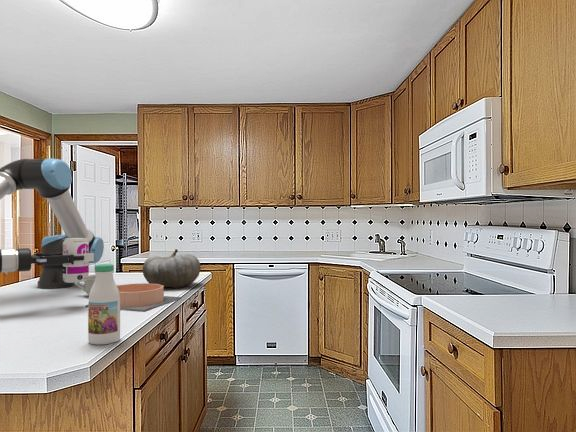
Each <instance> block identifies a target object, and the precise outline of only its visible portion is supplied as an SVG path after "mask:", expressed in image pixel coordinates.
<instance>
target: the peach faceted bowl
mask: <svg viewBox="0 0 576 432" xmlns="http://www.w3.org/2000/svg"><path fill="white" fill-rule="evenodd" d="M116 286H117V288H118V291H119V295H120V311H131V312H143V313H144V312H147V311H151V310H154V309H156V308H159V307H162V306H163V305H167V304H170V303H173V302H175V301H178V300H181V299H182V297H181V296H169V295H164V294H165V287H164V285H160V284H150V283H148V282H142V283H141V282H140V283H127V284H125V283H124V284H118V285H117V284H116ZM85 308H88V304H86V305H85Z"/></svg>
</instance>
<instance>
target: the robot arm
mask: <svg viewBox="0 0 576 432" xmlns="http://www.w3.org/2000/svg"><path fill="white" fill-rule="evenodd" d="M72 174H73V173H72V170H71V168H70V167H69V165H68V164H67V162H66V161H65V160H62V159H59V158H53V157H52V158H51V157H50V158H49V157H48V158H21V159H16V160H14V161H11V162H9V163H7V164H5V165H3V166H1V167H0V201H1V200H2V199H3V198H4V197H6V196H7V195H8V196H9V195H12V194H14V193H15V192H16V191H20V190H37V192H38V194H39V196H40V197H41V198H42V199H46V200H47V203H48V204H49V206H50V207H51V209H52V211H53V214H54V216H55V217H56V219H57V221H58V223H59V225H60V227H61V229H62V230H63V232H64V234H57V235H50V236H49V235H47V236H44V237H43V238H42V240H41V252H36V253H34V254H33V255H32V250H31V249H30V248H27V247H26V248H17V249H16V248H0V274H1V273H4V275H8V274H9V273H13V272H16V271H17V272H29V271H31V269H32V264H35V265H37V266H41V271H40V275H39V277H38V280H37V288H39V289H46V290H47V289H50V290H51V289H62V288H69V287H74V286H75V285H76V283H67V282H65V281H64V280H63V263H71V265H73V264H74V262H88V261H89V264H96V263H97V264H98V262H100V261H101V259H102V257H103V254H104V250H105V246H104V245H105V244H104V240H103V238H102V237H99V236H95V234H94V232H93V231H92V230H91V229H89V228H87V226H86V224H85V222H84V220H83V217H82V216H81V213H80V212H79V210H78V207H77V206H76V204H75V201H74V200H73V197H72V195H71V193H70V191H69V189H70V188H71V184H72V181H73V177H72V176H73V175H72ZM66 238H87V240H88V242H89V254H73V255H63V242H64V240H65V239H66ZM68 258H69V260H68Z"/></svg>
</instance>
